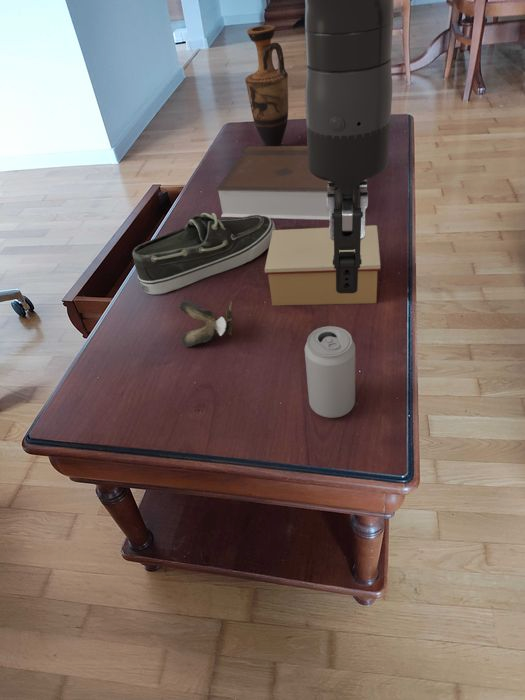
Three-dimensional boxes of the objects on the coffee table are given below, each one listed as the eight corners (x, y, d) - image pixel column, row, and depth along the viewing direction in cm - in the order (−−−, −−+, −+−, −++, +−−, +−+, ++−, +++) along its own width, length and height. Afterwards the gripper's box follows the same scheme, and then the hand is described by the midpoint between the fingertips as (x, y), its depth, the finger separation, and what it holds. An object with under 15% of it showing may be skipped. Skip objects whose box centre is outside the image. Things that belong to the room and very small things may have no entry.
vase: (250, 160, 141) (232, 35, 121) (261, 145, 148) (247, 24, 128) (288, 160, 138) (276, 32, 118) (298, 144, 145) (288, 21, 125)
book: (251, 171, 135) (248, 146, 131) (358, 171, 127) (358, 145, 123) (220, 216, 118) (215, 189, 114) (341, 220, 110) (341, 191, 106)
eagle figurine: (232, 309, 89) (179, 308, 89) (233, 294, 83) (176, 293, 82) (231, 351, 87) (178, 350, 87) (233, 339, 80) (175, 338, 80)
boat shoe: (289, 243, 106) (285, 199, 99) (158, 307, 94) (143, 262, 88) (259, 226, 113) (254, 184, 106) (134, 283, 102) (119, 240, 95)
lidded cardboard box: (376, 263, 97) (377, 225, 91) (379, 304, 87) (380, 265, 82) (276, 266, 100) (272, 229, 95) (269, 307, 90) (264, 269, 85)
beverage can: (343, 382, 75) (342, 318, 67) (363, 412, 70) (364, 348, 62) (302, 395, 74) (296, 332, 66) (319, 427, 69) (315, 363, 61)
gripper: (396, 144, 40) (384, 308, 51) (386, 89, 51) (378, 235, 62) (300, 150, 42) (309, 308, 52) (310, 95, 52) (315, 236, 63)
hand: (346, 268), depth 57 cm, fingers open, 8 cm apart
